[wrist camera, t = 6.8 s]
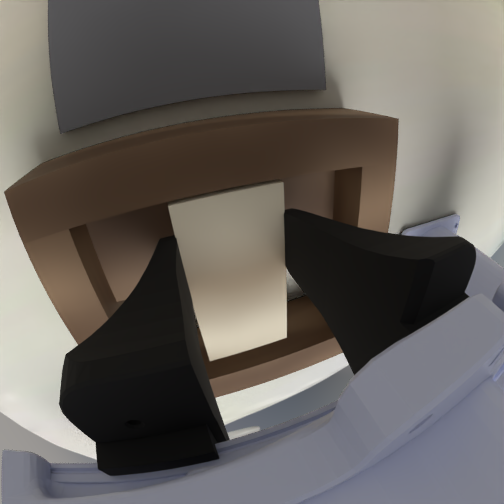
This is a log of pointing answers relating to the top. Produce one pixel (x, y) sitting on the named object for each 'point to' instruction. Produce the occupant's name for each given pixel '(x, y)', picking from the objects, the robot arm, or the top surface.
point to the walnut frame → (190, 184)
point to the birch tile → (235, 264)
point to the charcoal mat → (177, 52)
